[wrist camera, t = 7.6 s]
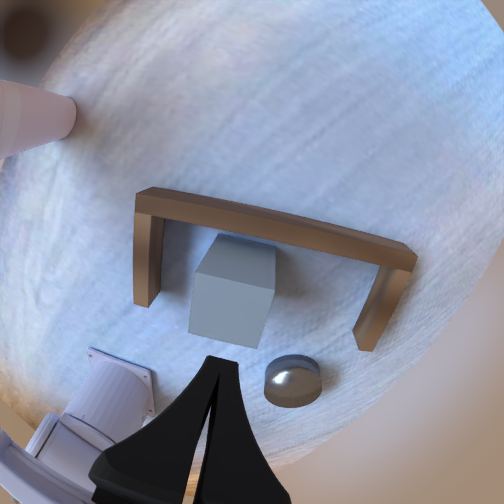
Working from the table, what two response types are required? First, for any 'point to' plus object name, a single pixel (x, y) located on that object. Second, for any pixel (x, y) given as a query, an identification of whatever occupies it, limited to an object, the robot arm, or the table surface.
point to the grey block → (233, 291)
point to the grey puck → (292, 381)
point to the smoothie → (32, 117)
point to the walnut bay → (276, 229)
